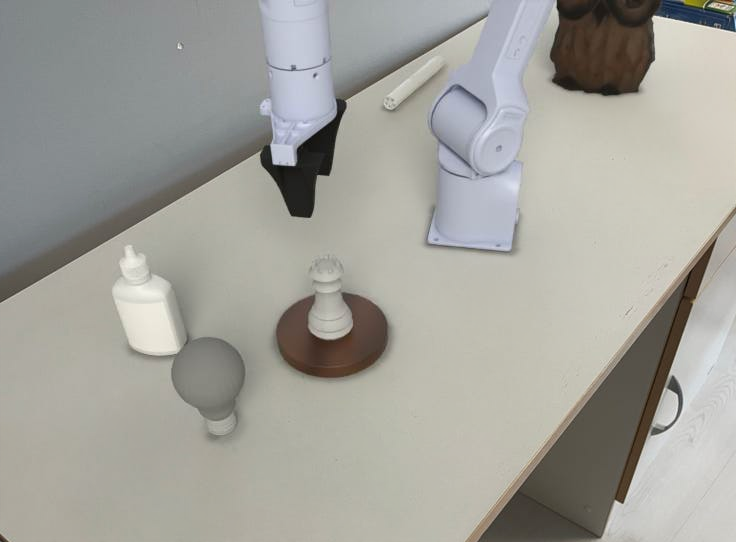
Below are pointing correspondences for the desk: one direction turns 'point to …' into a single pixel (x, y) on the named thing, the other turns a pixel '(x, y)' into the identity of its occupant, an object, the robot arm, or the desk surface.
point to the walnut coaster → (333, 354)
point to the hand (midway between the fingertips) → (311, 193)
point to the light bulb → (210, 380)
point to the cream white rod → (413, 82)
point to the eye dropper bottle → (147, 308)
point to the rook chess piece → (328, 300)
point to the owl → (603, 45)
